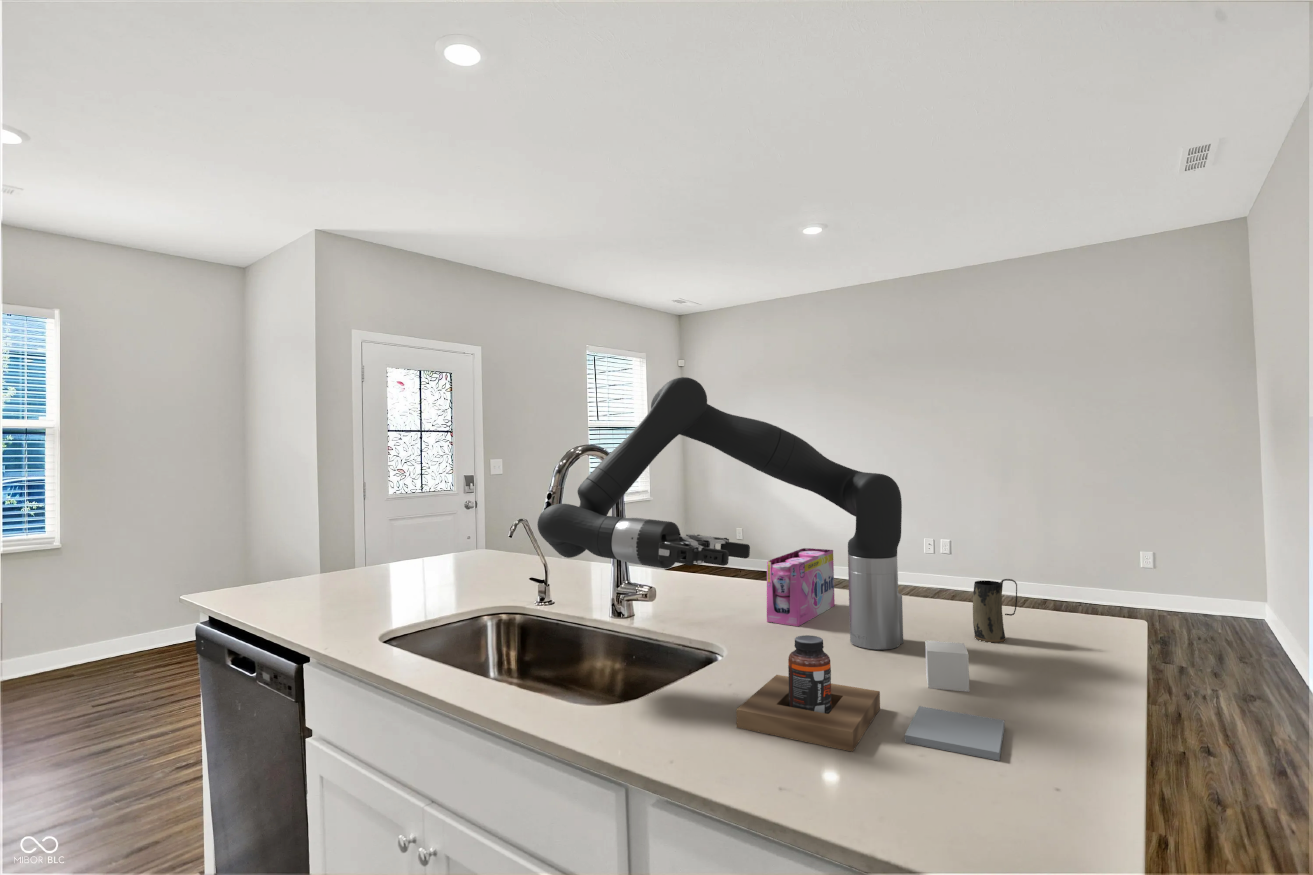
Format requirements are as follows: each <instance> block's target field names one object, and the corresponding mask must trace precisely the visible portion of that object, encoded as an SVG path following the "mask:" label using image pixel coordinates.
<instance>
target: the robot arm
mask: <svg viewBox="0 0 1313 875" xmlns="http://www.w3.org/2000/svg"><path fill="white" fill-rule="evenodd" d="M679 435H680V436H683V437H686V438H689V439H691V440H694V441H697V442H701V443H703V444H705V445H708V446H710V447H712V448H715V449H716V450H718V451H720V452H722V453H723V454H726V455H727V456H729V457H731V458H734V459H735V460H737V461H739V462H741V463H743V464H745V465H746V466H749V467H751V468H752V469H754V470H757V471H759V472H761V473H763V474H765V475H767V476H769V477H771V478H774V479H777V480H779V481H780V482H784V483H787V484H788V485H790V486H791V485H792V486H794V487H797V488H800V489H803V490H807V491H809V492H812V493H814V494H817V495H818V496H820V497H822V498H824V499H825V500H827V501H828V502H830V503H832V504H834V505H835V506H837V507H839V508H840V509H842V510H843V511H845V512H847V513H848V514H850V515H851V516H854V517H855V530H854V531H855V532H854V535H853V537H851V538H849V540H848V542H847V567H848V568H847V569H848V573H847V574H848V601H849V602H848V603H849V604H848V607H849V612H848V614H849V641H850V643H851V644H852V645H854V646H856V647H860V648H863V649H869V650H891V649H895V648H898V647H900V645H901V644H904V618H903V617H904V615H903V594H901V593H899V574H898V573H899V571H898V569H899V568H898V567H899V566H898V547H899V545H900V543H901V539H902V522H903V520H902V508H903V507H902V506H903V505H902V504H903V503H902V494H901V490H900V487H899V485H898V483H897V482H896V481H895V479H893V478H892V477H891V476H889V475H886V474H883V473H876V472H875V473H874V472H865V471H864V472H863V471H860V470H856V469H854V468H850V467H847V466H845V465H842V464H841V463H837V462H835V461H833V460H831V459H830V458H828V457H826V456H825V455H823V454H822V453H821V452H820V451H819V450H817V449H816V448H814V446H812V445H811V444H809V443H808V442H807V441H806V440H805V439H803V438H801V437H799V436H798V435H795V434H794V433H791V432H789V431H787V430H785V429H783V428H781V427H779V426H777V425H774V424H772V423H769V422H765V421H762V420H759V419H754V418H750V417H745V416H741V415H734V414H731V413H728V412H725V411H722V410H720V409H718V408H716V407H715V406H712V405H711V404H709V403H708V395H707V392H706V390H705V388H704V387H703V385H702V384H701V383H700V382H698V381H697V380H696V379H693V378H691V377H687V376H686V377H685V376H681V377H676V378H673V379H671V380H669V381H667V382H666V383H665V384H664V385H662V387H661V388H659V390H658V391H657V392H656V393H655V394H654V396H653V398H652V399H651V404H650V410H649V411H648V413H647V414H646V415H645V417H644V418H643V419H642V421H640V423H639V424H638V425H637V426H636V427H635V428H634V430H633V431H632V432H631V433H629V435H628V436H627V437H626V438H624V440H623V441H621V442H620V443H619V444H618V445H617V446H616V447H615V448H614V449H613V450H612V451H611V452H610V453H608V454H607V456H605V457H604V459H602V461H600V462H599V463H598V465H597V466H596V467H595V468H594V469H593V470H592V471H591V473H589V474H588V476H587V477H586V478H585V479H584V480H583V481H581V483H580V485H579V486H578V488H577V496H578V498H579V501H580V502H579V503H580V504H579V505H578V506H577V505H574V504H569V503H557V504H553V505H550V506H548V507H547V508H545V509H544V510H542V512H541V513H540V514H539V516H538V518H537V530H538V532H539V534H540V536H541V537H542V538H543V539H544V541H545V542H546V543H548V544H549V545H550V547H551V548H552V549H553V550H555V551H556V552H557V554H559V555H560V556H561V557H564V558H567V559H569V558H574V557H578V556H580V555H581V554H583V553H584V552H585V551H588V552H589V553H591V554H593V555H595V556H597V557H600V558H605V559H606V558H607V559H612V560H619V561H623V562H626V563H629V564H634V565H640V566H646V567H652V568H658V569H665V570H666V569H667V570H668V569H670V568H672V567H673V566H674V565H675V564H676V563H677V564H682V565H688V566H693V565H694V564H696V565H702V564H708V565H709V564H710V565H716V566H723V567H724V566H728V565H729V560H730V559H729V557H732V558H740V559H749V558H750V555H751V552H750V551H751V550H750V549H751V547H750V545H749V543H740V542H732V541H730V539H729V538H728V537H717V536H712V535H711V536H710V535H709V536H708V535H701V534H695V533H686V534H685V535H683V534H681V532H680V531H681V530H680V528H679V526H678V525H677V524H676V523H675V522H674V521H673V522H672V521H669V520H659V519H651V518H642V517H621V516H613V515H612V516H611V515H608V514H609V513H610V511H611V510H612V509H613V507H615V505H616V504H617V503H618V502H619V501H620V499H622V497H623V496H625V494H627V492H628V491H629V490H630V489H631V487H632V486H633V485H634V484H635V483H636V481H637V480H638V479H639V478H640V477H641V475H642V474H643V472H645V470H646V469H647V468H648V467H649V465H650V464H651V463H652V462H653V461H654V460H655V459H656V458H657V456H658V455H659V454H660V453H661V452H662V451H663V450H664V449H665V448H666V447H667V446H668V445H669V444H670V443H671V442H672V441H674V439H676V438H677V437H678V436H679ZM716 544H717V545H719V544H720V548H716Z"/></svg>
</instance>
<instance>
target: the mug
mask: <svg viewBox="0 0 1313 875" xmlns="http://www.w3.org/2000/svg"><path fill="white" fill-rule="evenodd" d="M1005 581H1010V582H1013V583H1014V584H1015V604H1014V611H1013V613H1004V615H1005V616H1010V617H1012V616H1014V615H1015V614H1016V610H1017V602H1018V583H1017V581H1016V580H1014V579H1012V578H1004V579H1001V581H995V580H976V581H974V585H973V595H972V619H973V620H972V624H973V631H974V632H973V633H974V639H975V638H976V639H978V640H977V641H979V640H981V641H980V642H982V641H985V642H984V643H988V642H991V643H990V644H1000V643H999V642H1002V643H1005V642H1006V641H1005V640H1006V639H1007V638H1006V633H1005V628H1004V619H1003V618H1004V617H1003V616H1004V615H1003V588H1004V587H1003V584H1004V582H1005ZM976 639H975V640H976ZM1004 641H1005V642H1004ZM993 642H994V643H993Z"/></svg>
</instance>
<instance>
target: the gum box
mask: <svg viewBox="0 0 1313 875" xmlns="http://www.w3.org/2000/svg"><path fill="white" fill-rule="evenodd" d="M834 566H835V565H834V550H833V549H828V548H827V549H825V548H814V547H813V548H811V547H810V548H809V547H804V548H799V549H798V550H797V549H796V550H794V551H792V552H789V553H786V554H783V555H781V556H777V557H774V558H772V559H769V560H767V561H766V622H767V623H772V622H773V624H780V625H786V626H793V627H800V626H802V625H803V624H806V623H808V622H809V621H810V620H812V619H814V618H816V617H818V616H819V615H821V614H823V613H824V612H825V611H828V610H829V609H831V608H833V607H834V606H836V604H835V602H836V600H835V572H834V571H835V569H834Z"/></svg>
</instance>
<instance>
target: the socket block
mask: <svg viewBox="0 0 1313 875" xmlns="http://www.w3.org/2000/svg"><path fill="white" fill-rule="evenodd" d="M831 705H832V707H831V709H832V710H831V712H830V713H829V714H826V713H820V712H815V711H810V710H804V709H799V708H793V707H789V675H788V676H787V675H782V674H776V675H775V676H773V677H771V679H770V680H769V681H767V682H766V683H765V684H764V685H763V686H761V687H760V688H759V689H758V690H757V691H755V692H754V694H752V695H751V696H750V697H749V698H748V699H746V700H745V701H744V702H743V703H742V704H740V705H739V706H738V707H737V708H736V710H735V711H736V712H735V713H736V714H735V716H736V729H737V728H738V729H743V730H746V731H752V732H756V733H760V734H766V735H770V736H771V735H772V736H774V737H775V736H776V737H780V738H786V739H791V740H796V741H800V742H804V743H810V744H814V745H818V746H823V747H828V748H834V749H838V750H844V751H848V752H854V750H855V749H856V747H857V746H858V744H859V742H860V741H861V739H862V737H864V735H865V733H866V731H867V730H868V728H869V726H870V725H871V723H872V722H873V720H874V718H875V717H876V715H877V714H878V713H879V711H880V709H881V692H880V690H876V689H868V688H863V687H855V686H850V685H843V684H837V683H832V682H831Z"/></svg>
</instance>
